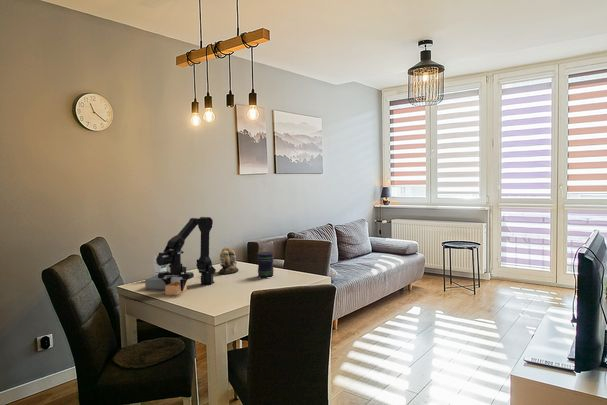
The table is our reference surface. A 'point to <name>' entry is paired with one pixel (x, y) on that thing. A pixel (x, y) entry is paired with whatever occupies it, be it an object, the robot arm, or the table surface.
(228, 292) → the table surface
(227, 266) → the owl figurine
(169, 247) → the robot arm
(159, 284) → the grey crate
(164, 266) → the syrup box
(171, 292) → the orange crate
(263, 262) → the storage jar
